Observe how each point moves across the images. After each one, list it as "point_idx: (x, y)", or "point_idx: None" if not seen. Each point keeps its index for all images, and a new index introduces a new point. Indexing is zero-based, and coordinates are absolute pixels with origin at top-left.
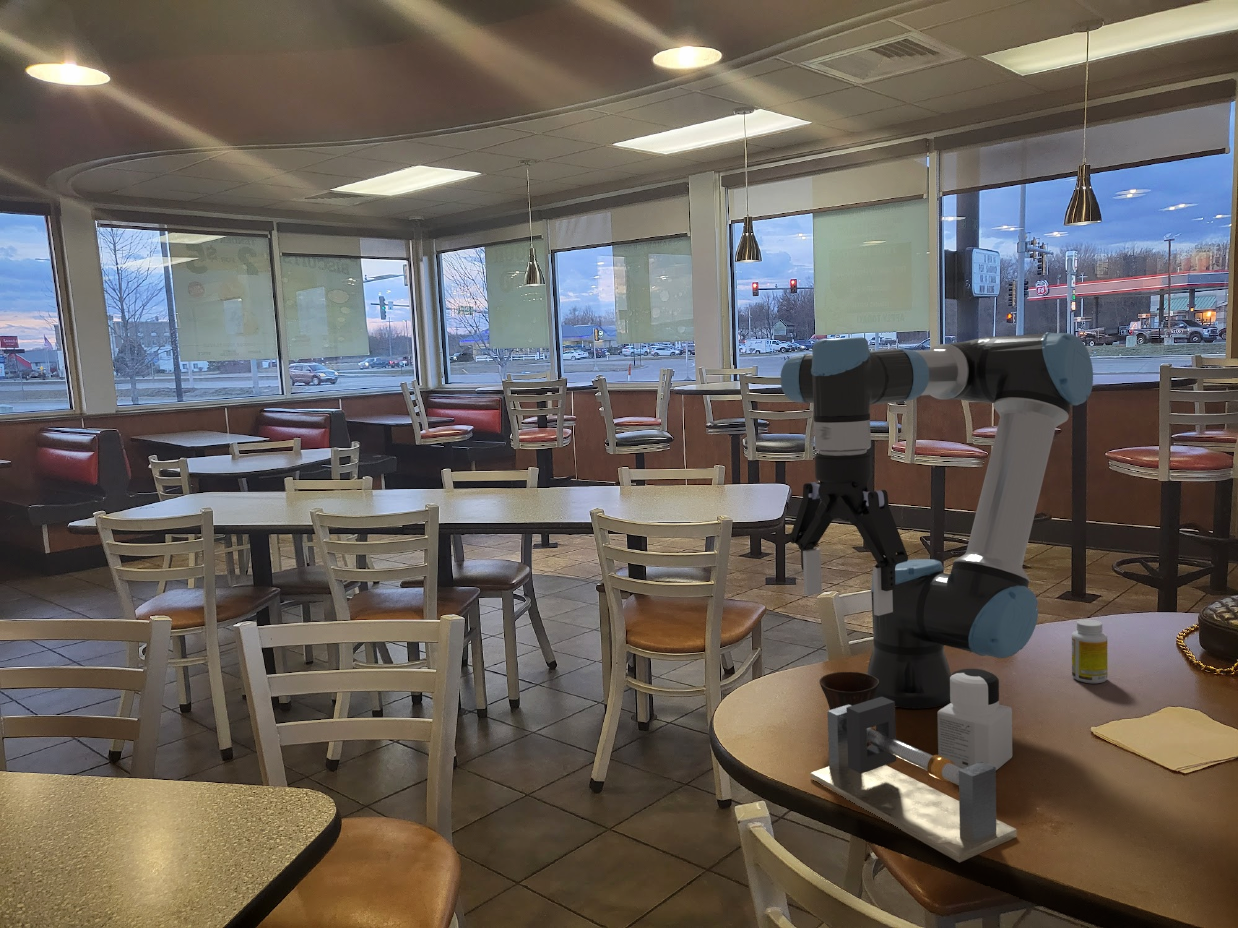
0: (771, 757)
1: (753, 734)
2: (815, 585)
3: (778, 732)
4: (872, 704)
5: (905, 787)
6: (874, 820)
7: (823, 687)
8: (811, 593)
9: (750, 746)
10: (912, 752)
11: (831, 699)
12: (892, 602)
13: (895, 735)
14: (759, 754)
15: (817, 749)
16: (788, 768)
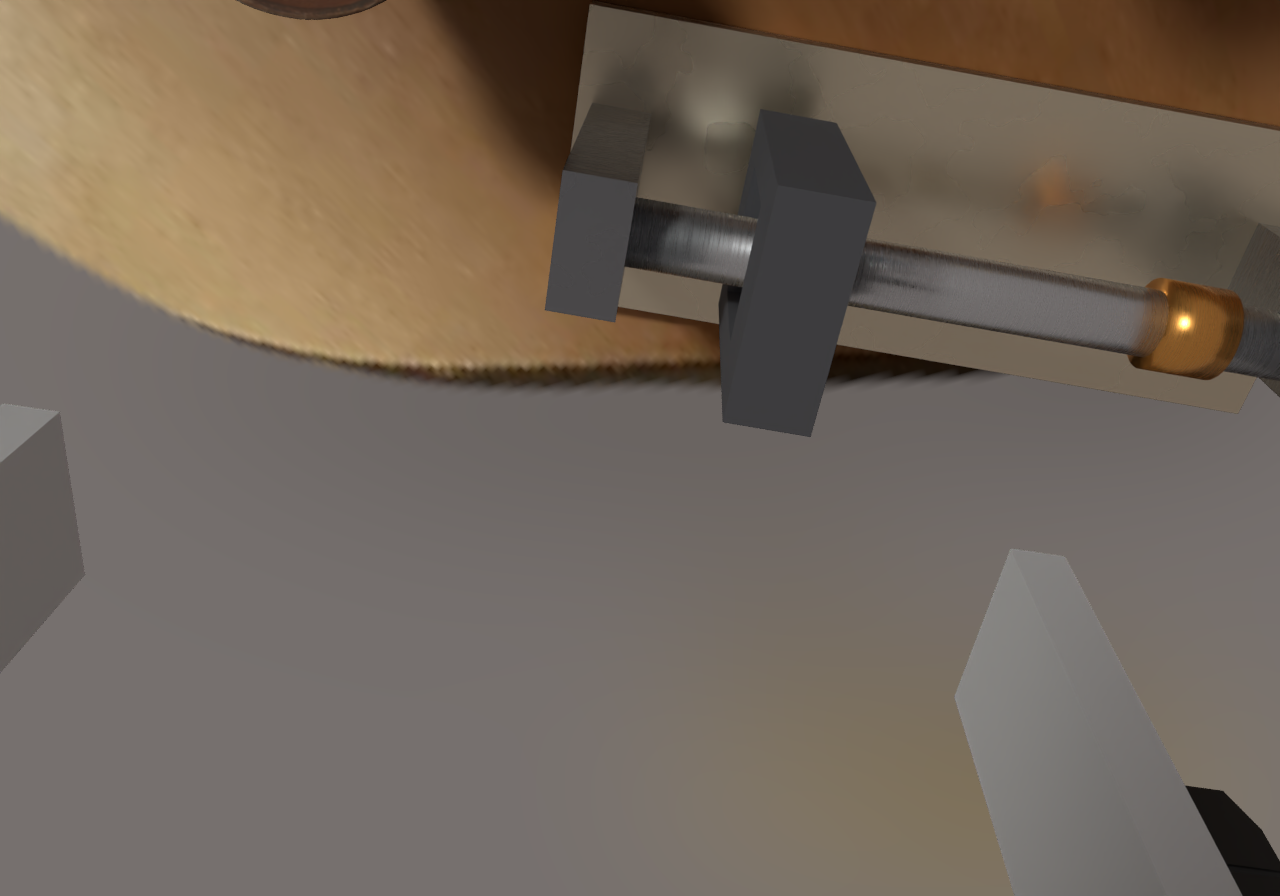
0: (319, 244)
1: (88, 125)
2: (20, 537)
3: (129, 26)
4: (803, 314)
5: (895, 150)
6: (896, 368)
7: (252, 5)
8: (71, 543)
9: (186, 225)
10: (1049, 337)
11: None
12: (1094, 616)
13: (851, 153)
14: (269, 255)
15: (377, 48)
16: (434, 272)
